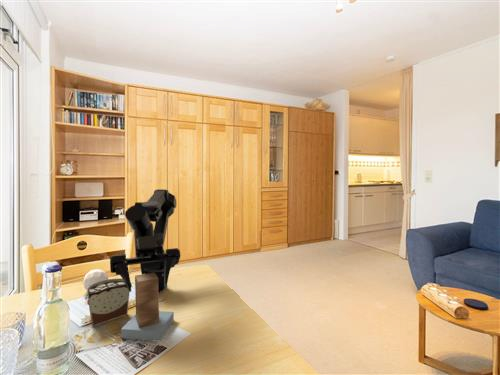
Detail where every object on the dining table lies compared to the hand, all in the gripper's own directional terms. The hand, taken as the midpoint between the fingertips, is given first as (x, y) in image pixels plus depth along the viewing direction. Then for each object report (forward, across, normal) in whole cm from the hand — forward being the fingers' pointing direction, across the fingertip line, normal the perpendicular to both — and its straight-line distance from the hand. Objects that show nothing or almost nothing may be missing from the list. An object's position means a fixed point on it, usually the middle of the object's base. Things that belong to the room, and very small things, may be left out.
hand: (148, 288), depth 76 cm
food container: (0, -11, +16) cm, 19 cm away
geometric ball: (-14, -15, +30) cm, 37 cm away
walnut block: (+7, -1, +5) cm, 8 cm away
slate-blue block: (+9, 0, +7) cm, 11 cm away
